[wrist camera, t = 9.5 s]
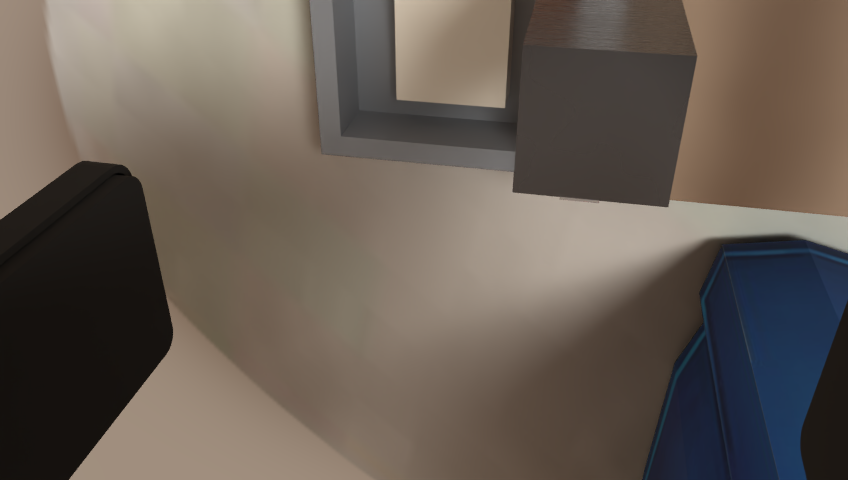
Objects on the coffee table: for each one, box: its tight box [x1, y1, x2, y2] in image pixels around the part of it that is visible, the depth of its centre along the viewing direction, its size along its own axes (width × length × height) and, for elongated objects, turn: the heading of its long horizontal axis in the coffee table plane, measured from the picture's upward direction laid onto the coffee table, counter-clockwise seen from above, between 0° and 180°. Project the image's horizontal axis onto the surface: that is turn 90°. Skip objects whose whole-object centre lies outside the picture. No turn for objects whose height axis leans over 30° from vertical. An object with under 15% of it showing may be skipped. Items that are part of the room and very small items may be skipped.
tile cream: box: [395, 0, 515, 108], centre depth 28 cm, size 4×4×2 cm
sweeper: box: [513, 0, 697, 207], centre depth 19 cm, size 3×12×10 cm, turn 0°
